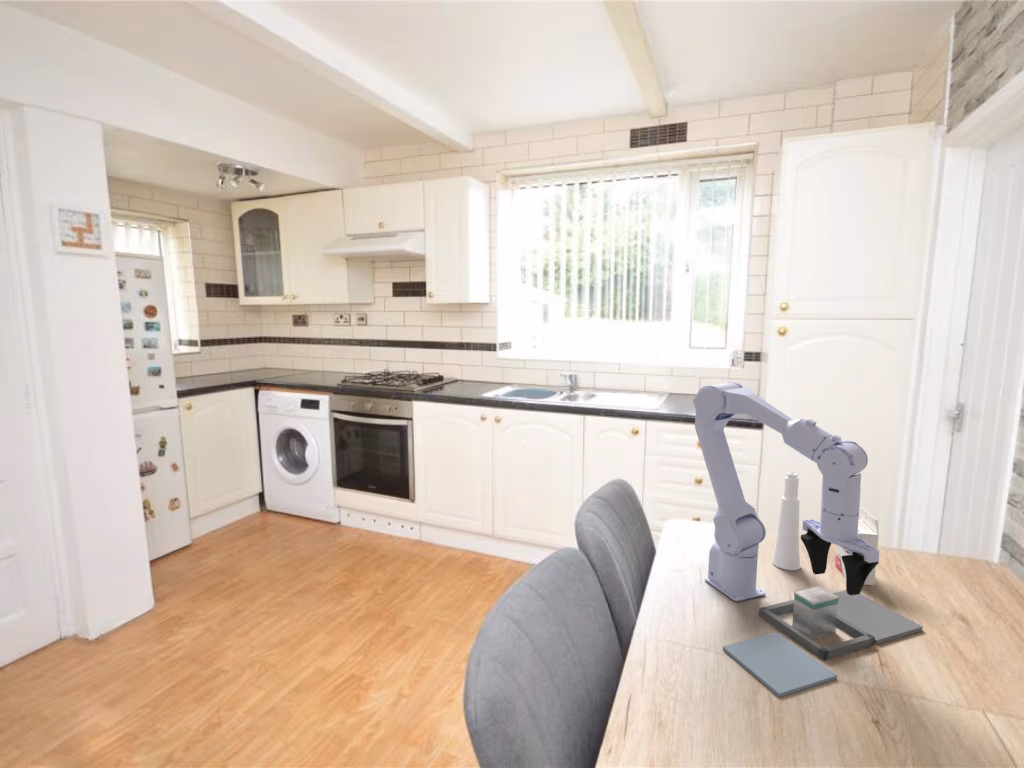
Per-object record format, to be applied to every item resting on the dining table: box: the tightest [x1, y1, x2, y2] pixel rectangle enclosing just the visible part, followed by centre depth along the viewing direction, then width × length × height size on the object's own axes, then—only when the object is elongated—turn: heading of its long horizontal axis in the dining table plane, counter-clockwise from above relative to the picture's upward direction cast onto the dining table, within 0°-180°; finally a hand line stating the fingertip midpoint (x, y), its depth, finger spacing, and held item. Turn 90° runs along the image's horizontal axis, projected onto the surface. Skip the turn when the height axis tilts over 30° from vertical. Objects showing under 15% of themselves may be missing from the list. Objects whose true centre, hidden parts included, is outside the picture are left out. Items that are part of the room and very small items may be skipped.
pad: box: [722, 632, 838, 698], centre depth 86 cm, size 12×12×1 cm
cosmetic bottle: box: [771, 471, 802, 571], centre depth 119 cm, size 6×6×22 cm
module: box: [791, 586, 839, 640], centre depth 95 cm, size 4×6×7 cm, turn 109°
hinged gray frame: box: [758, 590, 924, 661], centre depth 97 cm, size 14×24×2 cm, turn 109°
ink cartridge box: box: [834, 507, 879, 586], centre depth 114 cm, size 9×5×15 cm, turn 168°
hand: (835, 583), depth 93 cm, fingers open, 7 cm apart
